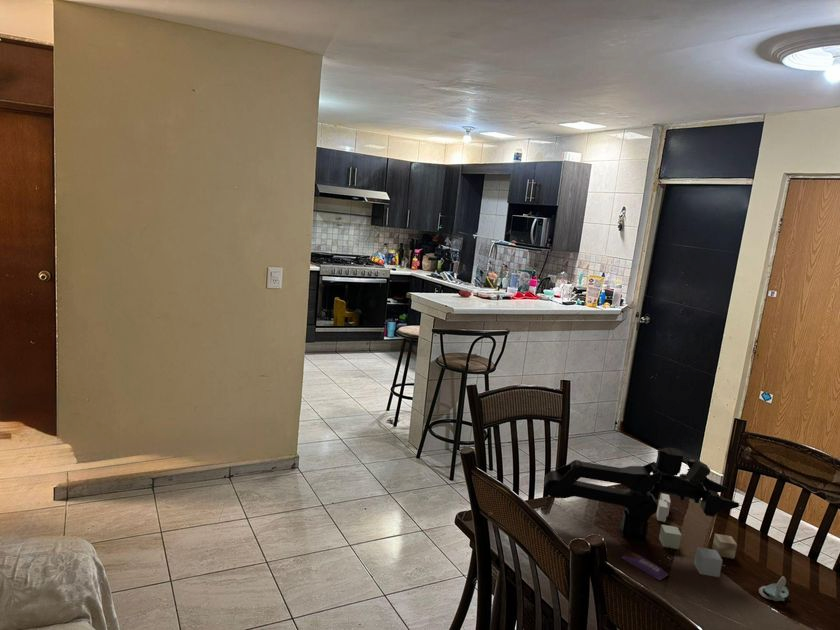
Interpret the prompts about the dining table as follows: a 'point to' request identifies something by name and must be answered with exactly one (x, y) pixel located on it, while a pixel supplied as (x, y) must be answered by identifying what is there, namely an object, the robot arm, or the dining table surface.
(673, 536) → the sage block
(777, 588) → the pacifier
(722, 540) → the birch block
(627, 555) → the snack package
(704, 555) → the blue block
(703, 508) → the robot arm
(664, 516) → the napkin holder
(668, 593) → the dining table surface
